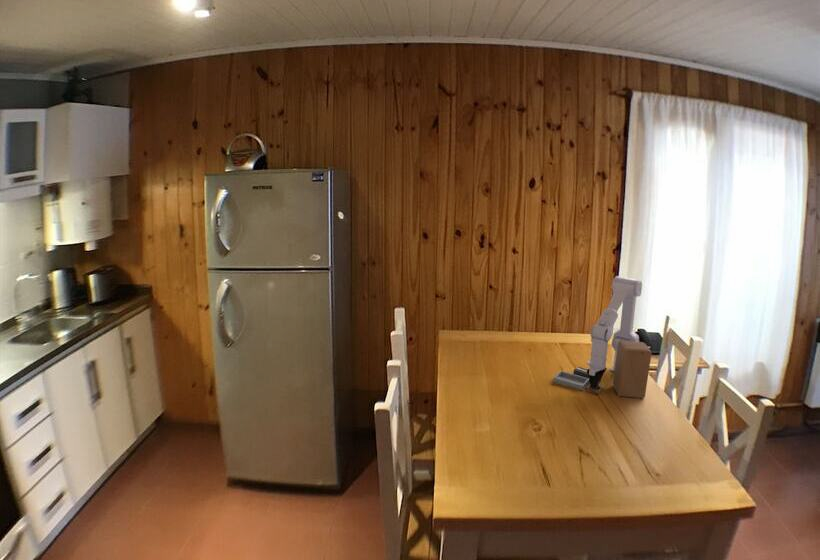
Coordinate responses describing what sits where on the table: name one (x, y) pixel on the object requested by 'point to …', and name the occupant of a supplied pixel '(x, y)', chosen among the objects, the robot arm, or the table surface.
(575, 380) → the tray
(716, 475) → the table surface
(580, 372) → the block
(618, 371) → the wooden block
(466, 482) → the table surface
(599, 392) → the collar
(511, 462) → the table surface
